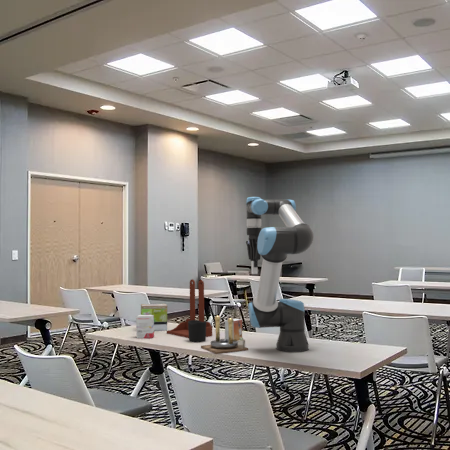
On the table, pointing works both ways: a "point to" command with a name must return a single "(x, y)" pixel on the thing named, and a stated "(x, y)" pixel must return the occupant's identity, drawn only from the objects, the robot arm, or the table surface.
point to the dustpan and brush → (193, 313)
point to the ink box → (145, 326)
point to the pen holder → (197, 331)
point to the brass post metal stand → (224, 342)
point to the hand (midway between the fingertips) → (254, 273)
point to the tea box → (156, 315)
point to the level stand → (227, 350)
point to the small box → (234, 329)
